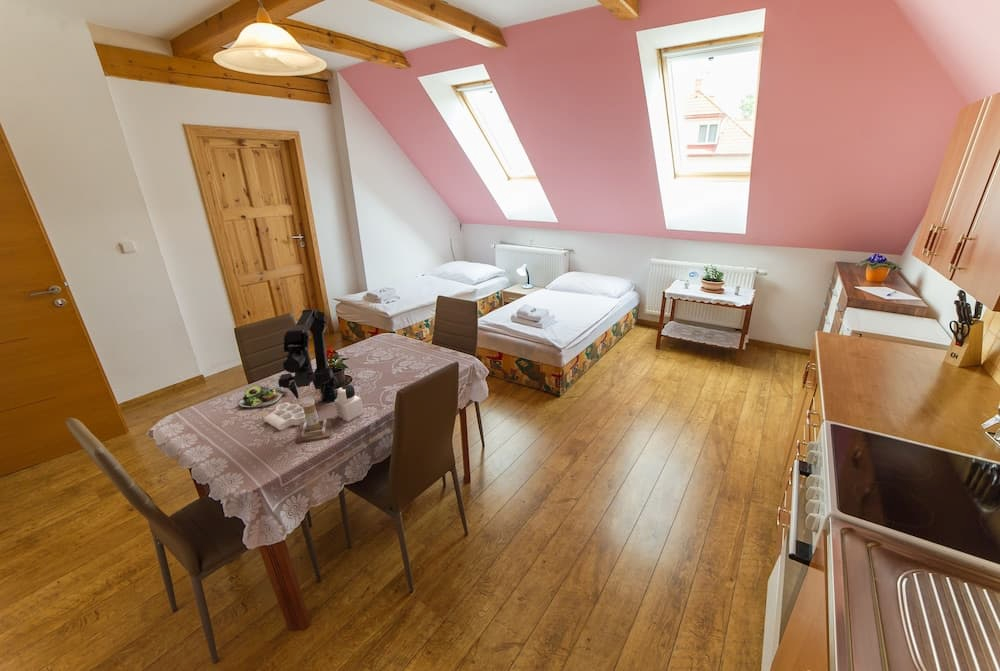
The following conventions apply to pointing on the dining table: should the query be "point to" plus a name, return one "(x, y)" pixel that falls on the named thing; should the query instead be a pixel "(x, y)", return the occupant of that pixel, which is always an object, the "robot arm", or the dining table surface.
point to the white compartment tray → (286, 416)
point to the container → (348, 403)
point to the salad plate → (260, 396)
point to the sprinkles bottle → (310, 414)
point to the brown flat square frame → (315, 435)
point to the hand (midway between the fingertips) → (310, 396)
